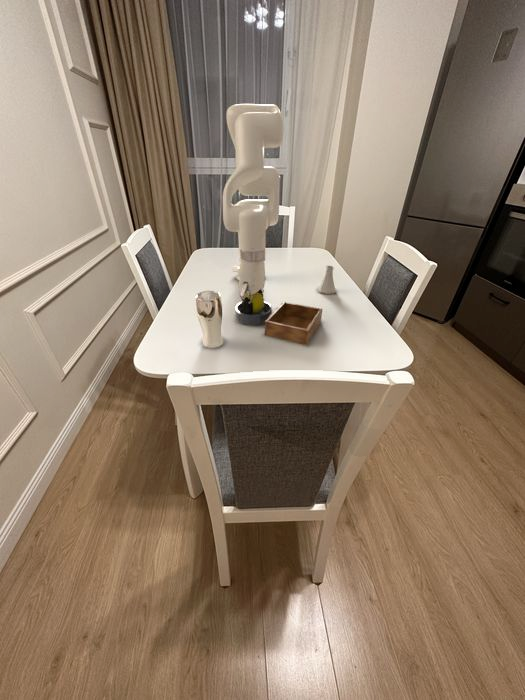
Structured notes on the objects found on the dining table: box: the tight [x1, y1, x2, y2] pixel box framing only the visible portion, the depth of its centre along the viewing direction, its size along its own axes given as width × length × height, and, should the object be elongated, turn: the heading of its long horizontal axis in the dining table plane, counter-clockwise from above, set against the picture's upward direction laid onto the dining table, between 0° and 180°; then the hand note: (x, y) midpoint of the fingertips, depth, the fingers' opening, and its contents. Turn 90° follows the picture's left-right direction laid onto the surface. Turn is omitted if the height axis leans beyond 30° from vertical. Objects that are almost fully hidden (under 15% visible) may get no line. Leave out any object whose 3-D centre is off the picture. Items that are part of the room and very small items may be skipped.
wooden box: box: [264, 301, 323, 346], centre depth 90 cm, size 14×16×5 cm
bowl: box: [234, 300, 273, 327], centre depth 96 cm, size 12×12×4 cm
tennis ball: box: [246, 291, 265, 313], centre depth 94 cm, size 7×7×7 cm
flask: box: [317, 265, 336, 295], centre depth 115 cm, size 7×7×10 cm
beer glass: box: [195, 290, 224, 349], centre depth 80 cm, size 7×7×15 cm
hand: (253, 308), depth 95 cm, fingers closed on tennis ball, 7 cm apart
